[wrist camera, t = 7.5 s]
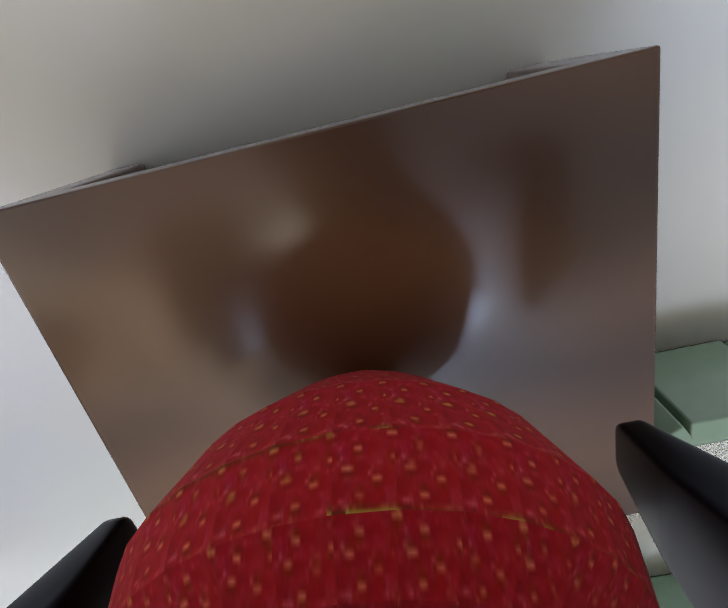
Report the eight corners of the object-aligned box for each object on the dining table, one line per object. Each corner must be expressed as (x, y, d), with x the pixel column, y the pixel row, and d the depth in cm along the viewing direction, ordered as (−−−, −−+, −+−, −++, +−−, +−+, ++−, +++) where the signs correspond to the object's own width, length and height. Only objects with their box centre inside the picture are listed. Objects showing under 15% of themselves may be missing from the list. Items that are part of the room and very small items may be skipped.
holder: (811, 564, 23) (895, 651, 20) (523, 610, 25) (552, 701, 21) (866, 309, 18) (997, 366, 14) (490, 384, 19) (522, 455, 15)
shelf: (568, 390, 19) (653, 510, 14) (233, 456, 20) (187, 591, 15) (545, 61, 14) (661, 44, 9) (108, 171, 16) (-28, 215, 10)
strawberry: (526, 457, 13) (942, 1368, 4) (251, 498, 13) (18, 1396, 4) (514, 248, 10) (1607, 1356, 1) (180, 306, 11) (-734, 1425, 2)
